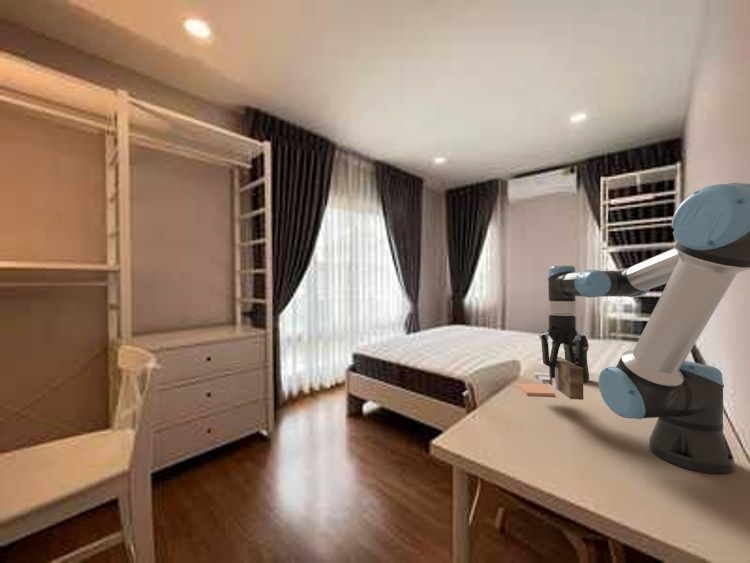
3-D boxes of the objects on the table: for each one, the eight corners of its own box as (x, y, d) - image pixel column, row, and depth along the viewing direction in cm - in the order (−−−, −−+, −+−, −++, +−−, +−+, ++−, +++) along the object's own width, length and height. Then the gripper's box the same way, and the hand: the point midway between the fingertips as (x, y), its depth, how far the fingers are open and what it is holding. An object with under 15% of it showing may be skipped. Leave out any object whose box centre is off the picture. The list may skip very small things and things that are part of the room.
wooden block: (591, 400, 98) (591, 368, 98) (562, 398, 99) (561, 367, 99) (556, 376, 123) (556, 351, 124) (533, 376, 125) (532, 351, 125)
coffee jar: (590, 379, 149) (590, 337, 149) (586, 383, 144) (586, 339, 144) (566, 375, 156) (566, 335, 156) (561, 379, 150) (561, 337, 150)
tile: (554, 393, 127) (542, 384, 139) (526, 392, 129) (517, 383, 141) (554, 397, 127) (542, 388, 139) (526, 396, 129) (517, 387, 141)
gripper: (584, 313, 111) (585, 386, 111) (530, 313, 113) (531, 384, 113) (596, 315, 104) (596, 393, 103) (538, 315, 106) (538, 390, 106)
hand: (562, 388), depth 108 cm, fingers closed on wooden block, 3 cm apart
